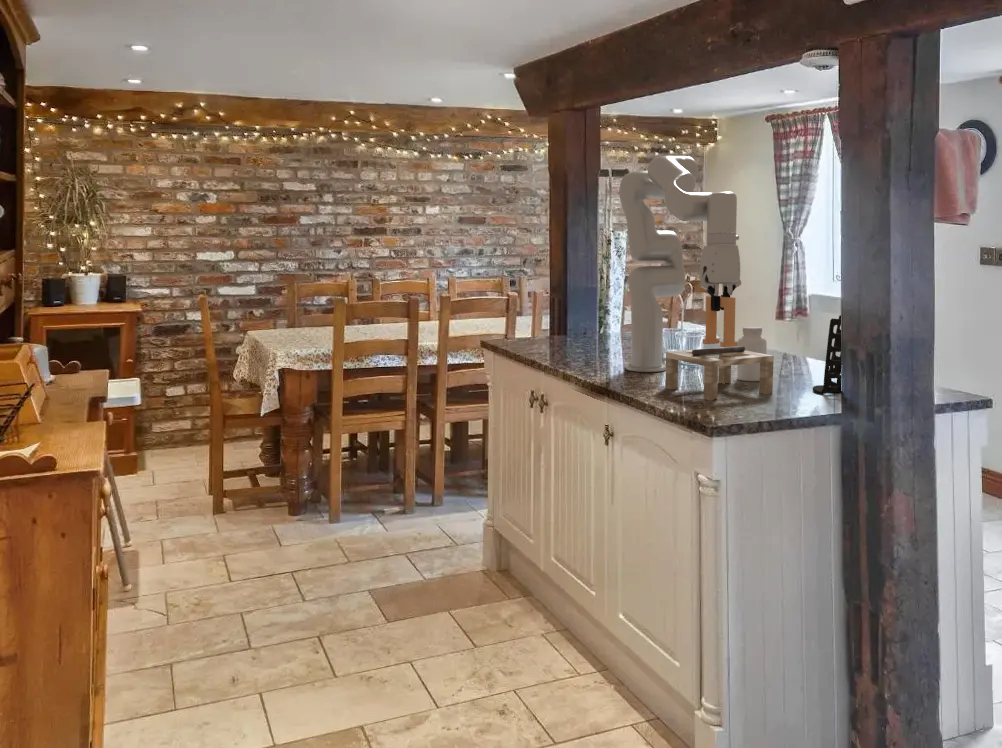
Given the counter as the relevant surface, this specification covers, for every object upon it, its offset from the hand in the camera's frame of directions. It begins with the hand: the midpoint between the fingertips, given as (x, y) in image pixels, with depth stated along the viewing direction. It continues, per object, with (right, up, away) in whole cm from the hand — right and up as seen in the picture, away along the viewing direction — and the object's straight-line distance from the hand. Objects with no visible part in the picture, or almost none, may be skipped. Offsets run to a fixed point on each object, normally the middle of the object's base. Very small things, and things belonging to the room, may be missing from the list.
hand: (720, 309), depth 246 cm
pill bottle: (+14, -19, +20) cm, 31 cm away
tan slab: (0, -9, +1) cm, 9 cm away
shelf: (0, -21, +4) cm, 22 cm away
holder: (+29, -22, 0) cm, 36 cm away
